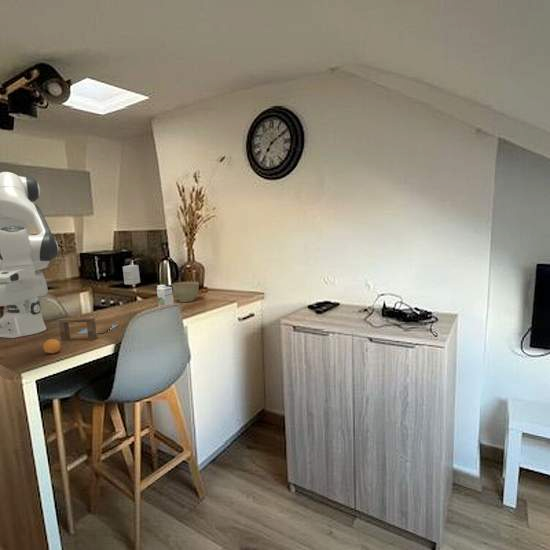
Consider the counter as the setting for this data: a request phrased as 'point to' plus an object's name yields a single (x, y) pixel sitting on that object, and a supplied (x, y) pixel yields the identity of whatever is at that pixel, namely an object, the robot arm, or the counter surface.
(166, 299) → the syrup box
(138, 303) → the counter surface
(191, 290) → the planter bowl
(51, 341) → the ball
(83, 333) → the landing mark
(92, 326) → the bridge
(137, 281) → the supplement box
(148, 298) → the counter surface
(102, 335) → the counter surface
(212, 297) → the counter surface
